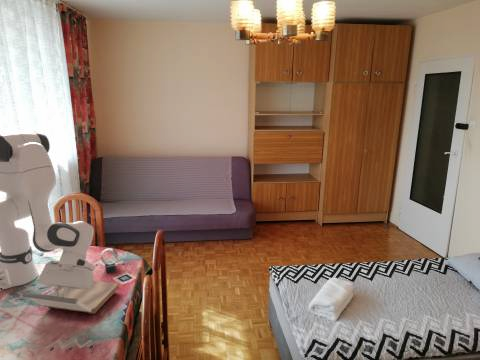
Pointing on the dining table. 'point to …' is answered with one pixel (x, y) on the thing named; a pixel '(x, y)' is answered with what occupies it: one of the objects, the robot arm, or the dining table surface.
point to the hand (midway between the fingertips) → (58, 299)
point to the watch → (110, 264)
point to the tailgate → (57, 301)
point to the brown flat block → (91, 295)
